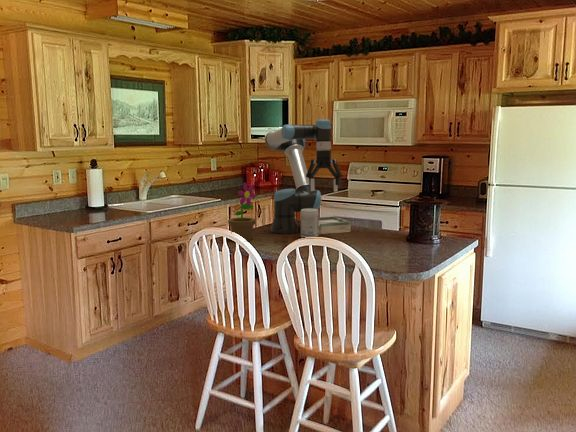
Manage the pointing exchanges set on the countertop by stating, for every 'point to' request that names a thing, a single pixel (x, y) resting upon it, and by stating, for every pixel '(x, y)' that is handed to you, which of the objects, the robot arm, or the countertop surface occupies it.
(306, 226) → the supplement tub
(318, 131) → the robot arm
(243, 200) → the flowerpot
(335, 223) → the shallow square tray
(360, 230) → the countertop surface
